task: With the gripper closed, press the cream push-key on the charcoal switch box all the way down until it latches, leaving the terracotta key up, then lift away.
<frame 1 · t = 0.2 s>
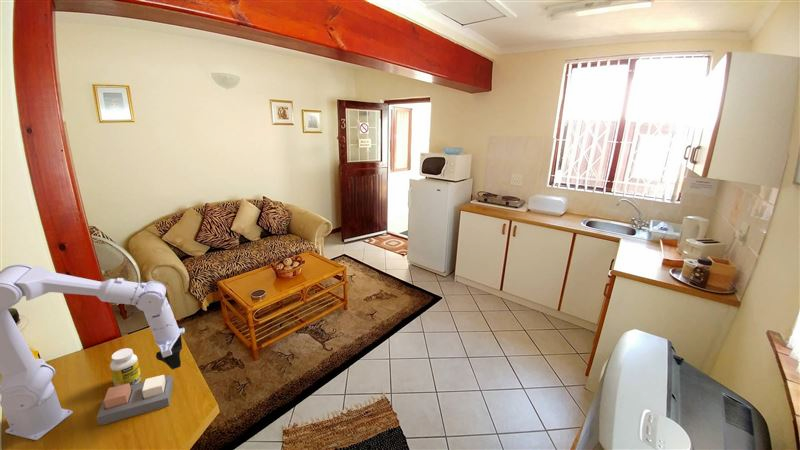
hand: (177, 358, 91), 11 cm above the table, tool pointing down, fingers open, 7 cm apart
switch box: (139, 402, 88), on the table
key cream: (154, 386, 88), point 4 cm above the table, slide at 0.0 cm
key terracotta: (118, 395, 84), point 4 cm above the table, slide at 0.0 cm
pill bottle: (128, 382, 93), on the table
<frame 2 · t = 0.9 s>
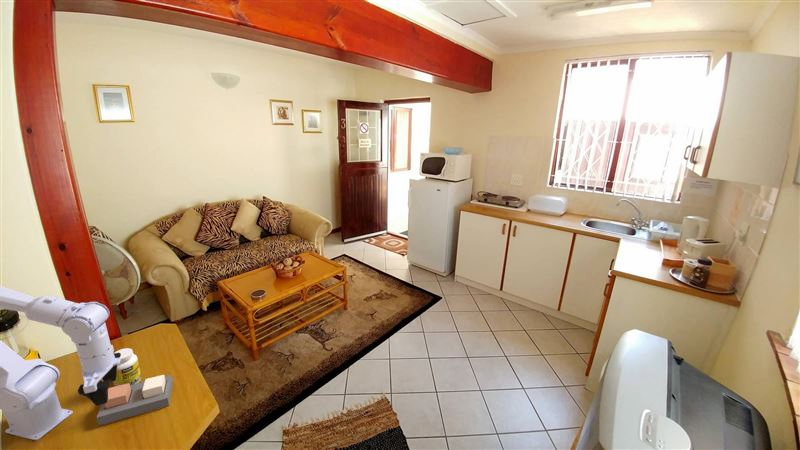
hand: (106, 391, 80), 9 cm above the table, tool pointing down, fingers open, 7 cm apart
nothing on the table moved.
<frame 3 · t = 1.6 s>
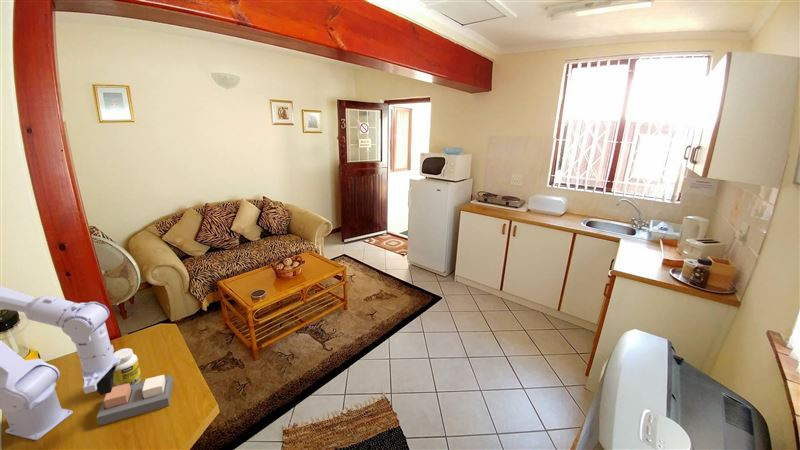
hand: (106, 391, 80), 9 cm above the table, tool pointing down, fingers closed
nothing on the table moved.
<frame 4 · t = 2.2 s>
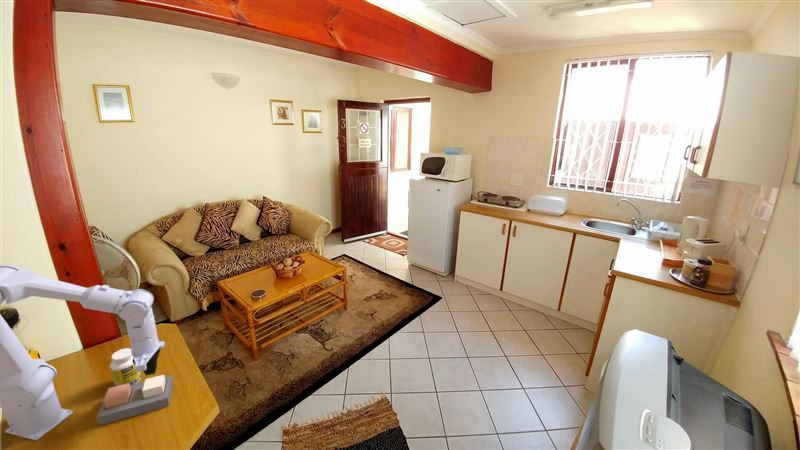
hand: (151, 372, 86), 9 cm above the table, tool pointing down, fingers closed
nothing on the table moved.
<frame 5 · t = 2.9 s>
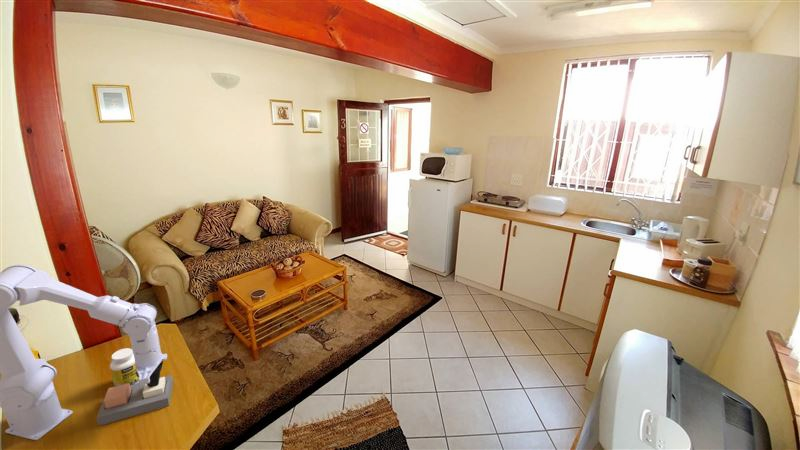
hand: (154, 384, 88), 5 cm above the table, tool pointing down, fingers closed, pressing on key cream
key cream: (154, 388, 89), point 3 cm above the table, slide at 0.8 cm, touching gripper
everything else where it was.
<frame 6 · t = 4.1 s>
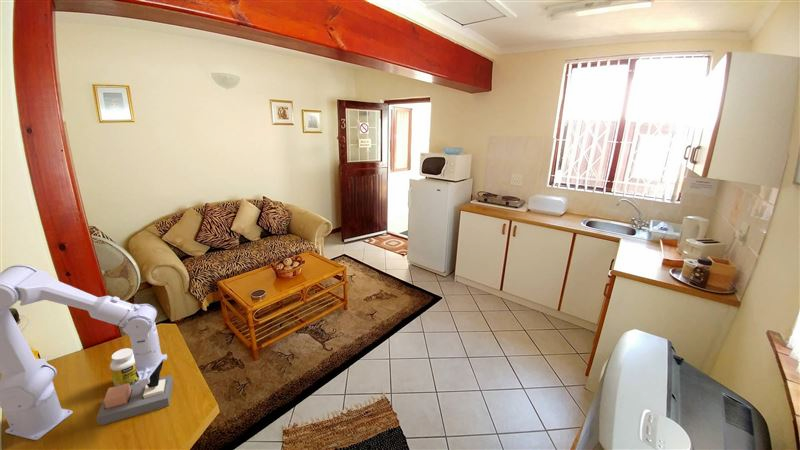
hand: (153, 385, 88), 5 cm above the table, tool pointing down, fingers closed
key cream: (155, 391, 89), point 2 cm above the table, slide at 1.7 cm
everything else where it was.
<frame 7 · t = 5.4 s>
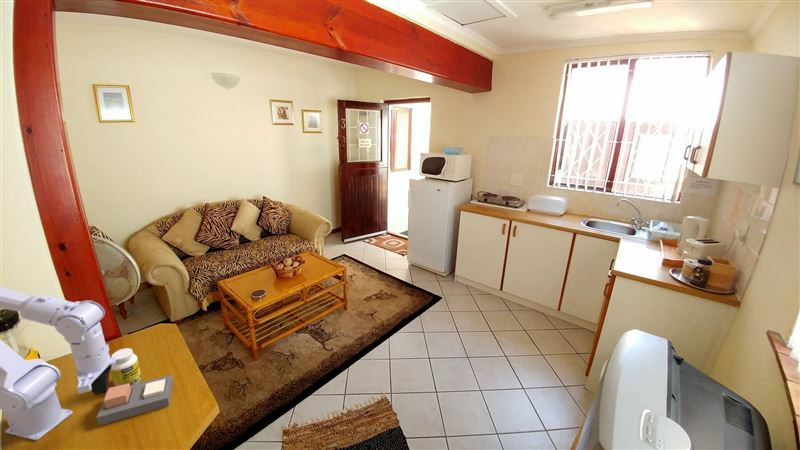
hand: (101, 392, 78), 10 cm above the table, tool pointing down, fingers closed
nothing on the table moved.
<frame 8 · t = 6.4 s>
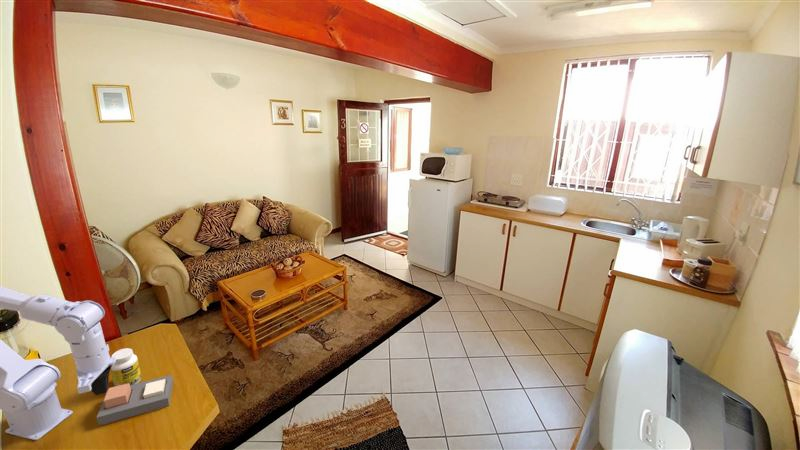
hand: (101, 392, 78), 10 cm above the table, tool pointing down, fingers closed
nothing on the table moved.
at the end: key cream slide at 1.7 cm; key terracotta slide at 0.0 cm; pill bottle moved 0.2 cm from its start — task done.
